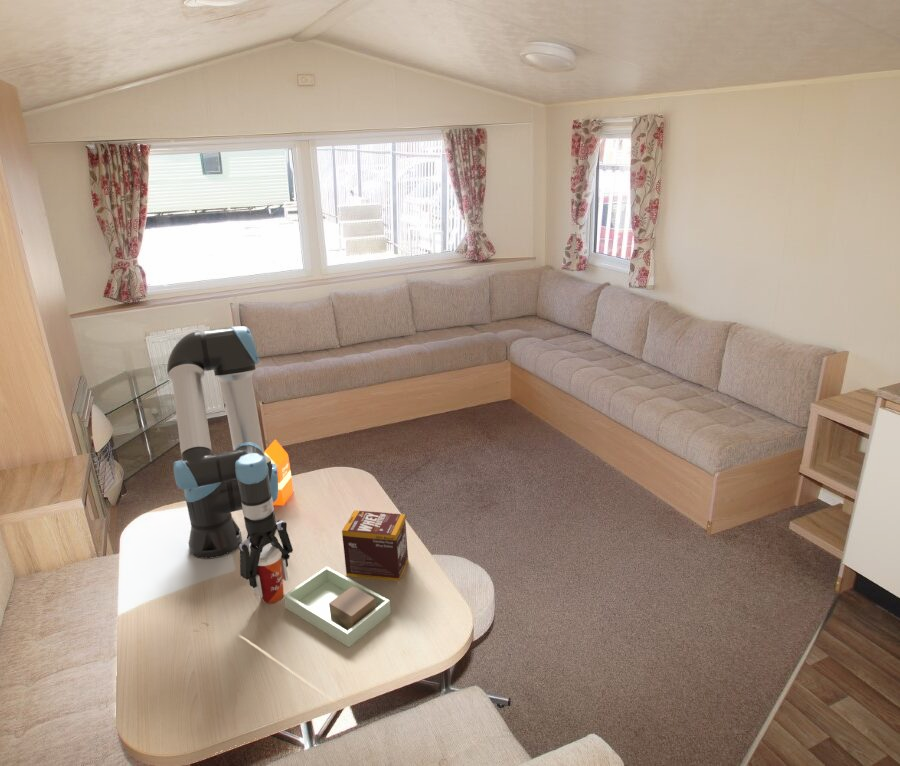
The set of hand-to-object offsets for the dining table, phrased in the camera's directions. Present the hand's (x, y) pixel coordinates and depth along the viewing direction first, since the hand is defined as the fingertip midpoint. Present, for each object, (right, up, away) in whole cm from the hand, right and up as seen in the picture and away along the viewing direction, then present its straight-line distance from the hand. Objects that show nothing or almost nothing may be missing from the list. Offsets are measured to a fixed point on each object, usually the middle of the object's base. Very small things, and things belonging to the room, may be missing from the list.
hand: (271, 586), depth 176 cm
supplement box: (+27, +1, +11) cm, 29 cm away
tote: (+19, -5, -6) cm, 20 cm away
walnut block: (+23, -6, -9) cm, 26 cm away
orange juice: (-11, +15, +49) cm, 52 cm away
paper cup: (0, -3, +1) cm, 3 cm away
